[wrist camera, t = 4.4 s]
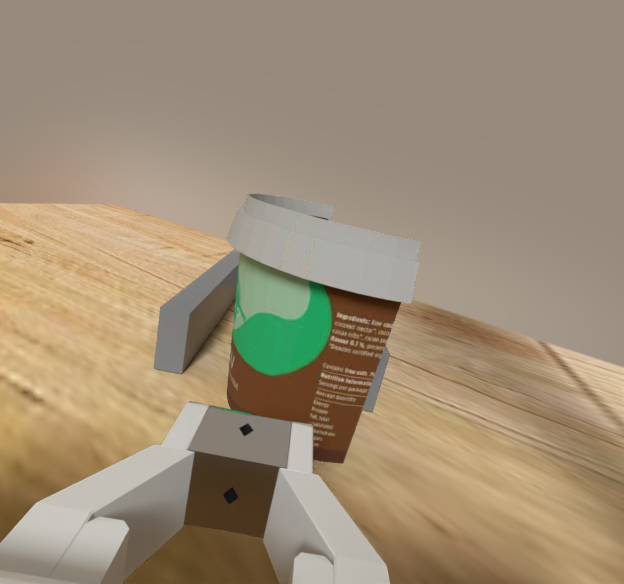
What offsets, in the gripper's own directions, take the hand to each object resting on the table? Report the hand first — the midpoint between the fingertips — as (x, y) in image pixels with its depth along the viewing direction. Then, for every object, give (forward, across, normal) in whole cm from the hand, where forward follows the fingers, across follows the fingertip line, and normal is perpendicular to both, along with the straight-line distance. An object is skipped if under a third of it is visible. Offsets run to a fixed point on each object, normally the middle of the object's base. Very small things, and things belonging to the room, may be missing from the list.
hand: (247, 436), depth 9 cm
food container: (+10, 0, +5) cm, 11 cm away
